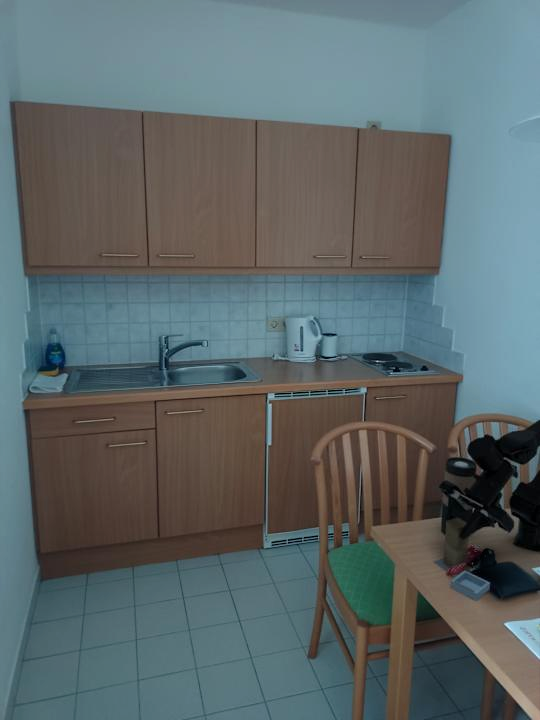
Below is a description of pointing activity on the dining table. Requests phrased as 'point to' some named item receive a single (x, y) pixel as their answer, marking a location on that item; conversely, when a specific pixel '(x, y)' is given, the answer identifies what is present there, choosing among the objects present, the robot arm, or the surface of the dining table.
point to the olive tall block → (455, 543)
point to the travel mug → (458, 484)
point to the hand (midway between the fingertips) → (453, 533)
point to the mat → (446, 568)
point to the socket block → (470, 585)
